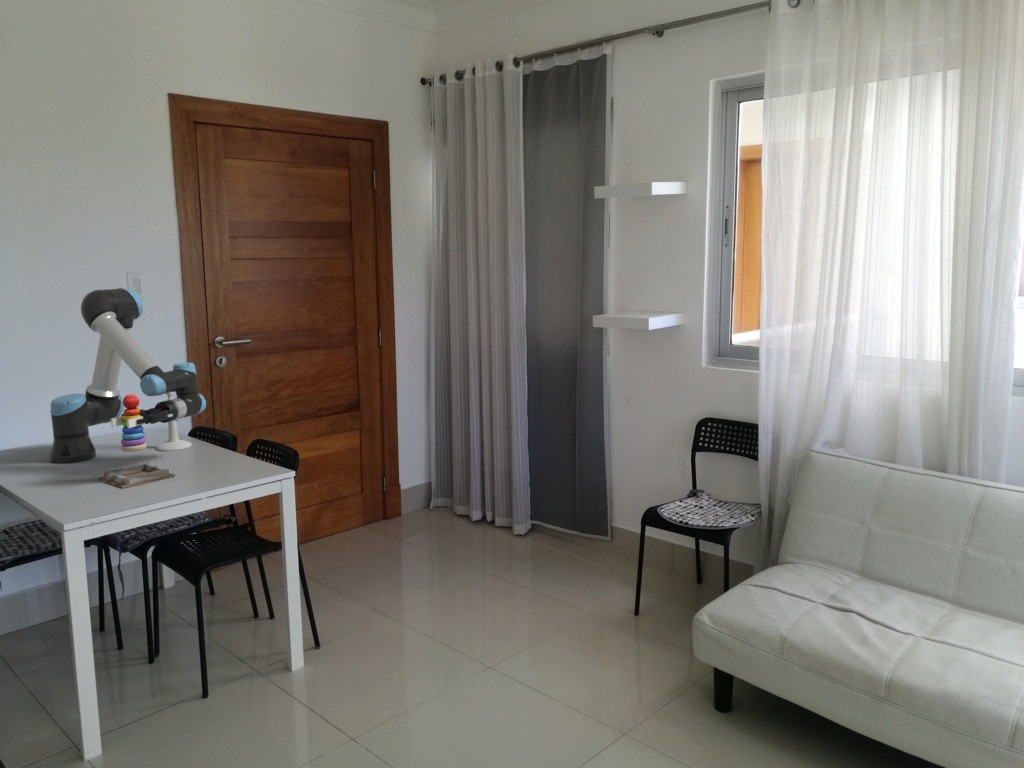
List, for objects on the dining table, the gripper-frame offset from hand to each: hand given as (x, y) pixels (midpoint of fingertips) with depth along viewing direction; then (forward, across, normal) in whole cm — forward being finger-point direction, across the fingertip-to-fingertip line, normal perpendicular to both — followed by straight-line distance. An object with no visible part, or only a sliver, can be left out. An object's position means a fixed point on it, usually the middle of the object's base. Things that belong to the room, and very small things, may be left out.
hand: (120, 423), depth 274 cm
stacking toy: (-5, 0, -10) cm, 11 cm away
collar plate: (-5, 0, -20) cm, 20 cm away
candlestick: (-46, +20, -20) cm, 54 cm away
